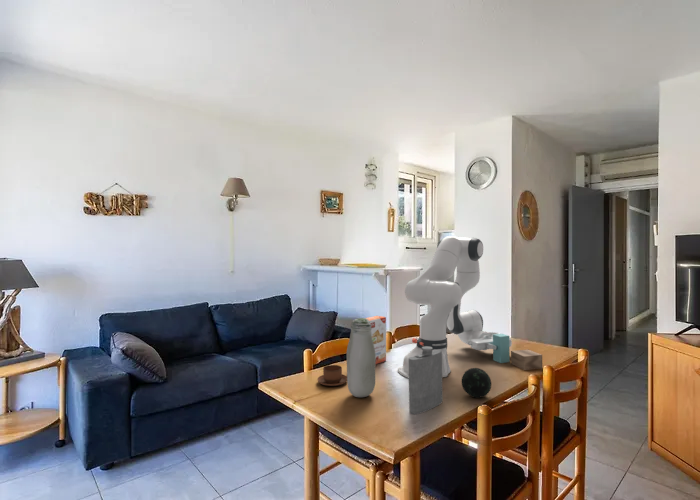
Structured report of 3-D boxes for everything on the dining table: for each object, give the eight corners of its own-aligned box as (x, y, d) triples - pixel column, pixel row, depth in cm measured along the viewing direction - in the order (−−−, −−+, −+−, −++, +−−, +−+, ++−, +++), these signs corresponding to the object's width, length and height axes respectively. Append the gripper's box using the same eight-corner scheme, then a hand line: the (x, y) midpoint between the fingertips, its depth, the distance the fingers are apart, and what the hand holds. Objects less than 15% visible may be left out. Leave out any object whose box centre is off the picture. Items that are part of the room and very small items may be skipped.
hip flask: (436, 398, 137) (435, 341, 136) (446, 402, 134) (445, 343, 133) (407, 412, 126) (406, 350, 126) (417, 415, 123) (416, 352, 123)
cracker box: (367, 367, 172) (366, 320, 172) (357, 365, 177) (356, 319, 176) (387, 360, 182) (386, 316, 182) (377, 358, 187) (376, 315, 186)
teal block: (500, 363, 176) (500, 336, 176) (493, 360, 181) (492, 334, 181) (509, 361, 178) (509, 335, 178) (502, 359, 182) (501, 333, 182)
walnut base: (524, 370, 166) (524, 356, 166) (511, 364, 175) (510, 351, 175) (542, 368, 168) (542, 354, 168) (528, 362, 177) (528, 349, 177)
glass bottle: (359, 403, 133) (358, 322, 133) (342, 394, 141) (341, 318, 141) (381, 396, 139) (380, 318, 139) (363, 388, 147) (362, 314, 147)
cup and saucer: (311, 383, 155) (311, 367, 155) (335, 376, 163) (335, 361, 163) (329, 391, 146) (329, 374, 146) (354, 383, 153) (353, 368, 153)
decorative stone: (467, 389, 145) (466, 362, 145) (494, 394, 139) (494, 367, 139) (457, 398, 137) (457, 369, 137) (486, 404, 131) (486, 374, 131)
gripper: (464, 336, 188) (483, 342, 175) (499, 332, 195) (519, 338, 182) (465, 349, 188) (483, 356, 175) (499, 344, 195) (520, 351, 182)
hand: (502, 347), depth 178 cm, fingers closed on teal block, 5 cm apart
